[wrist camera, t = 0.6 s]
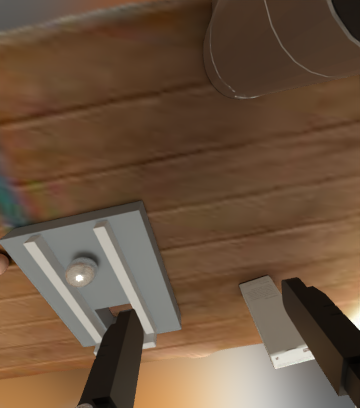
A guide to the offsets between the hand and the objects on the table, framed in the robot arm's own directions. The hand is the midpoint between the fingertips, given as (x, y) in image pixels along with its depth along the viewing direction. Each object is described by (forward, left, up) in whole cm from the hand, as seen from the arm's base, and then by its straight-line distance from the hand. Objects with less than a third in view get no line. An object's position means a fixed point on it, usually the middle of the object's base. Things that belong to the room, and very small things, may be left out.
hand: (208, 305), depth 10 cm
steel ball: (+7, -17, -13) cm, 22 cm away
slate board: (+14, -17, -18) cm, 28 cm away
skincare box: (+23, +9, -19) cm, 31 cm away
